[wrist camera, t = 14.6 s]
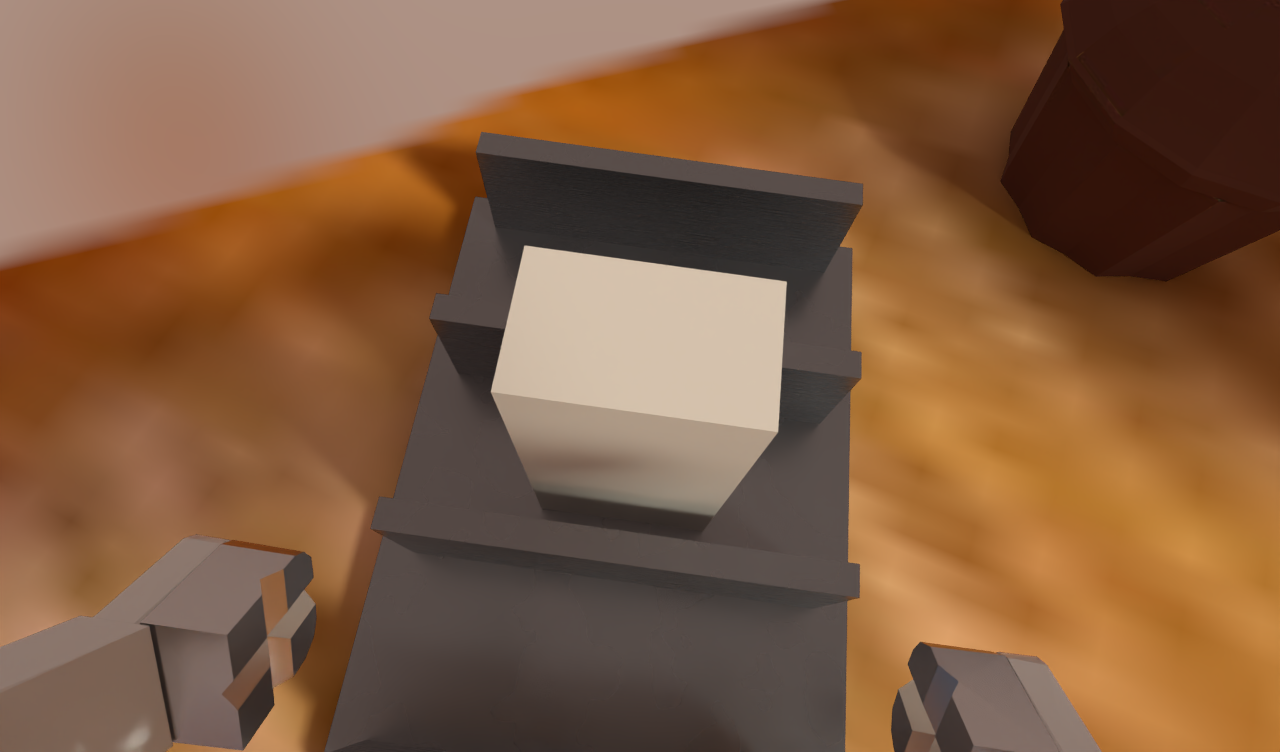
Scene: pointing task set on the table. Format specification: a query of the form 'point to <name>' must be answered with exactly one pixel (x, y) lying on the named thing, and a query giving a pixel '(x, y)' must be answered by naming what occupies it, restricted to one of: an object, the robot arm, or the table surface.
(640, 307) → the tall cream block
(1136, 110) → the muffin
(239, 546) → the robot arm
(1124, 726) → the table surface
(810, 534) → the dish rack
